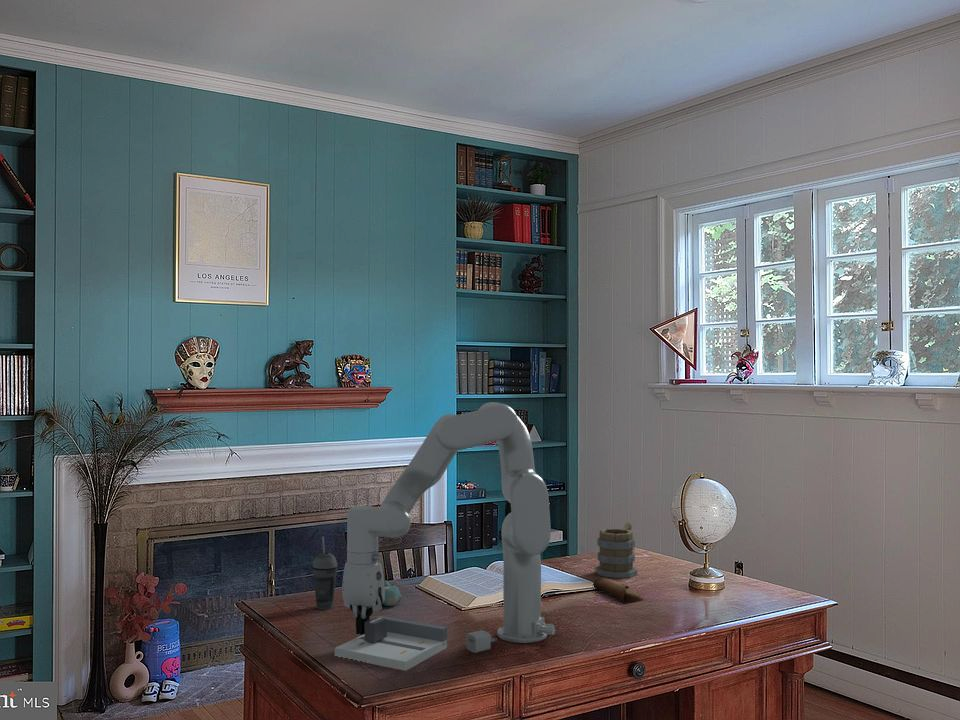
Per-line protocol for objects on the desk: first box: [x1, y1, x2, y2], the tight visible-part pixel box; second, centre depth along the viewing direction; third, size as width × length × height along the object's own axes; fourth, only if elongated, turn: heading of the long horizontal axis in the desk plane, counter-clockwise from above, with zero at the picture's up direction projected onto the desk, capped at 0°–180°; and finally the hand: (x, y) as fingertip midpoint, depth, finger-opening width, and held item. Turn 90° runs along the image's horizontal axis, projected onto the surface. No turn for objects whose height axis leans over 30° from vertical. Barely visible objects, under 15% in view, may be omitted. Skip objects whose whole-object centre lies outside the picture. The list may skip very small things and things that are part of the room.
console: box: [334, 615, 448, 672], centre depth 201 cm, size 20×18×5 cm
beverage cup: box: [311, 535, 339, 611], centre depth 239 cm, size 7×7×20 cm
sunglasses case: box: [592, 577, 646, 604], centre depth 253 cm, size 18×7×7 cm
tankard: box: [594, 522, 638, 579], centre depth 282 cm, size 20×13×15 cm, turn 147°
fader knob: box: [365, 616, 387, 643], centre depth 203 cm, size 3×5×4 cm, turn 152°
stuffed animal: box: [381, 579, 403, 607], centre depth 244 cm, size 11×7×12 cm
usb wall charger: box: [465, 629, 498, 654], centre depth 204 cm, size 4×7×4 cm, turn 125°
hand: (362, 632), depth 205 cm, fingers closed
